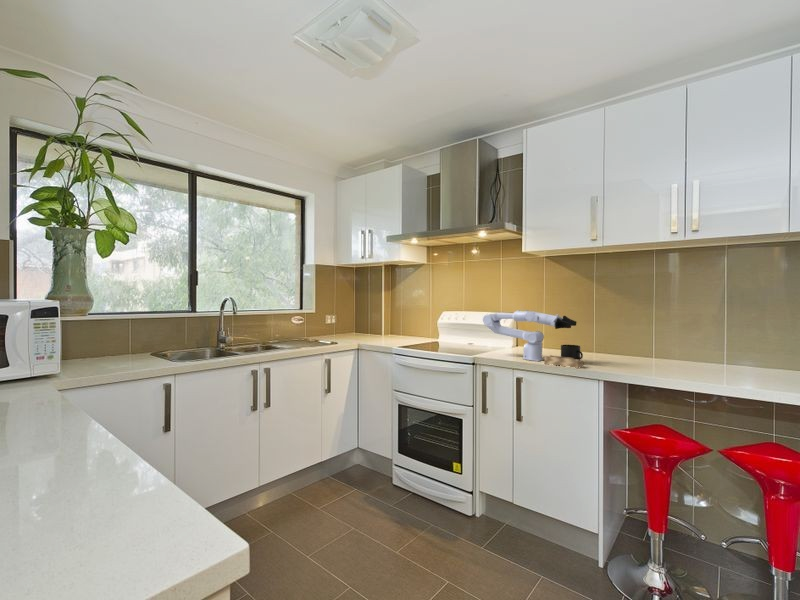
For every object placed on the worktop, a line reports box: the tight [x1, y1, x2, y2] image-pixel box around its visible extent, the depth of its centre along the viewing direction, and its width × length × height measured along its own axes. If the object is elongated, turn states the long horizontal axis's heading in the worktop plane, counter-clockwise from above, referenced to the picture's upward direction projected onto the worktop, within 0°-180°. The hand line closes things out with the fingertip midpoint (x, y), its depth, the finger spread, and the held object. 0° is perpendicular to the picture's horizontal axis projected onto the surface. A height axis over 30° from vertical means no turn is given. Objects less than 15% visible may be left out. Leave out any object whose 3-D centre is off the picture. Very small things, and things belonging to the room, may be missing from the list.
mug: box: [560, 344, 584, 361], centre depth 211 cm, size 9×12×9 cm
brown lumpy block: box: [544, 354, 584, 369], centre depth 203 cm, size 17×7×5 cm, turn 43°
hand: (573, 324), depth 207 cm, fingers open, 7 cm apart
